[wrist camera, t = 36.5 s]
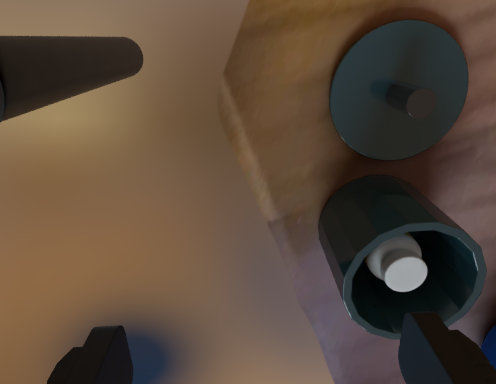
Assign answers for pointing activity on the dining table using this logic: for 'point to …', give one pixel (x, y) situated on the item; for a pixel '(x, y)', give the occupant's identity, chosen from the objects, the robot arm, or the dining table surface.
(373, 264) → the supplement bottle
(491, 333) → the vase
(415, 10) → the dining table surface
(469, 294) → the pot
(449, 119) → the lid
